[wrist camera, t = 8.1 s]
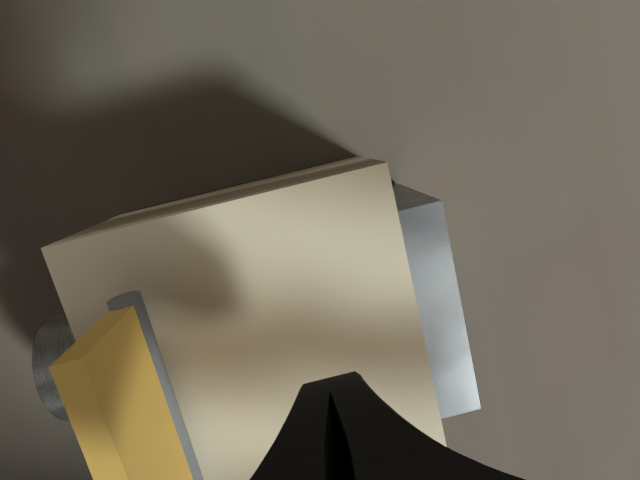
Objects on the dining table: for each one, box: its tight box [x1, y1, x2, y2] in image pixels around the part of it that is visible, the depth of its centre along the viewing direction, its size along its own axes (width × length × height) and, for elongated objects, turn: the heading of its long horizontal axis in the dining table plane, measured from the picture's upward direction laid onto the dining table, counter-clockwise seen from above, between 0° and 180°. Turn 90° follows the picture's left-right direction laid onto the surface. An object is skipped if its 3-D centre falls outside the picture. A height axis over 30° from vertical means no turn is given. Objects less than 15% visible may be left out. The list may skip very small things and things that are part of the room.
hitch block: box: [41, 156, 447, 480], centre depth 17 cm, size 10×10×6 cm
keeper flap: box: [49, 291, 204, 480], centre depth 12 cm, size 6×1×4 cm, turn 14°
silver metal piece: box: [32, 184, 481, 421], centre depth 18 cm, size 7×14×6 cm, turn 104°
